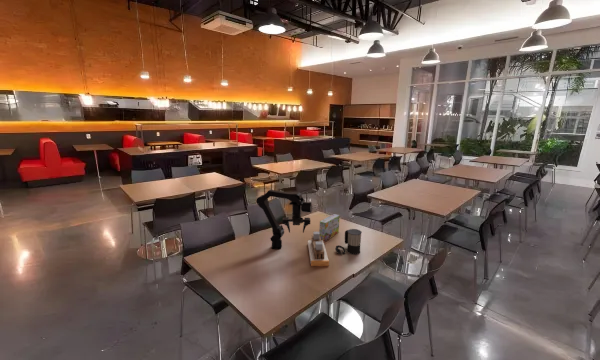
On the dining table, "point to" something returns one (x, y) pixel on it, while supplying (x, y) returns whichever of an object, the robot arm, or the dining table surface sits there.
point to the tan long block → (317, 252)
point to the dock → (317, 261)
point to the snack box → (329, 227)
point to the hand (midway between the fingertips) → (296, 232)
